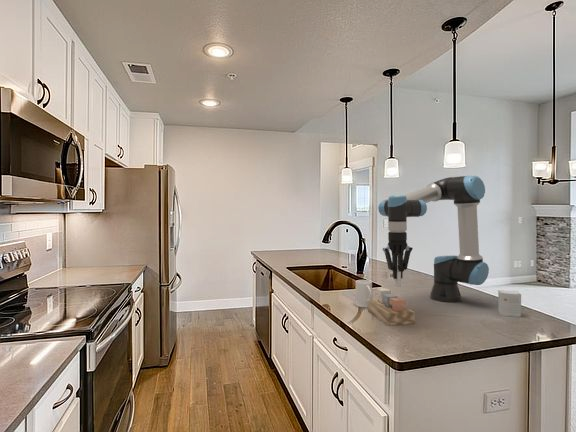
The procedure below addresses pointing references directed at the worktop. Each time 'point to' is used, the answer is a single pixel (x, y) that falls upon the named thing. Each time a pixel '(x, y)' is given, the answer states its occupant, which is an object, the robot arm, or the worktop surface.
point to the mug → (363, 293)
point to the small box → (509, 303)
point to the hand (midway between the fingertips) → (397, 286)
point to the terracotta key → (397, 304)
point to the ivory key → (382, 291)
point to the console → (390, 314)
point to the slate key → (386, 299)
